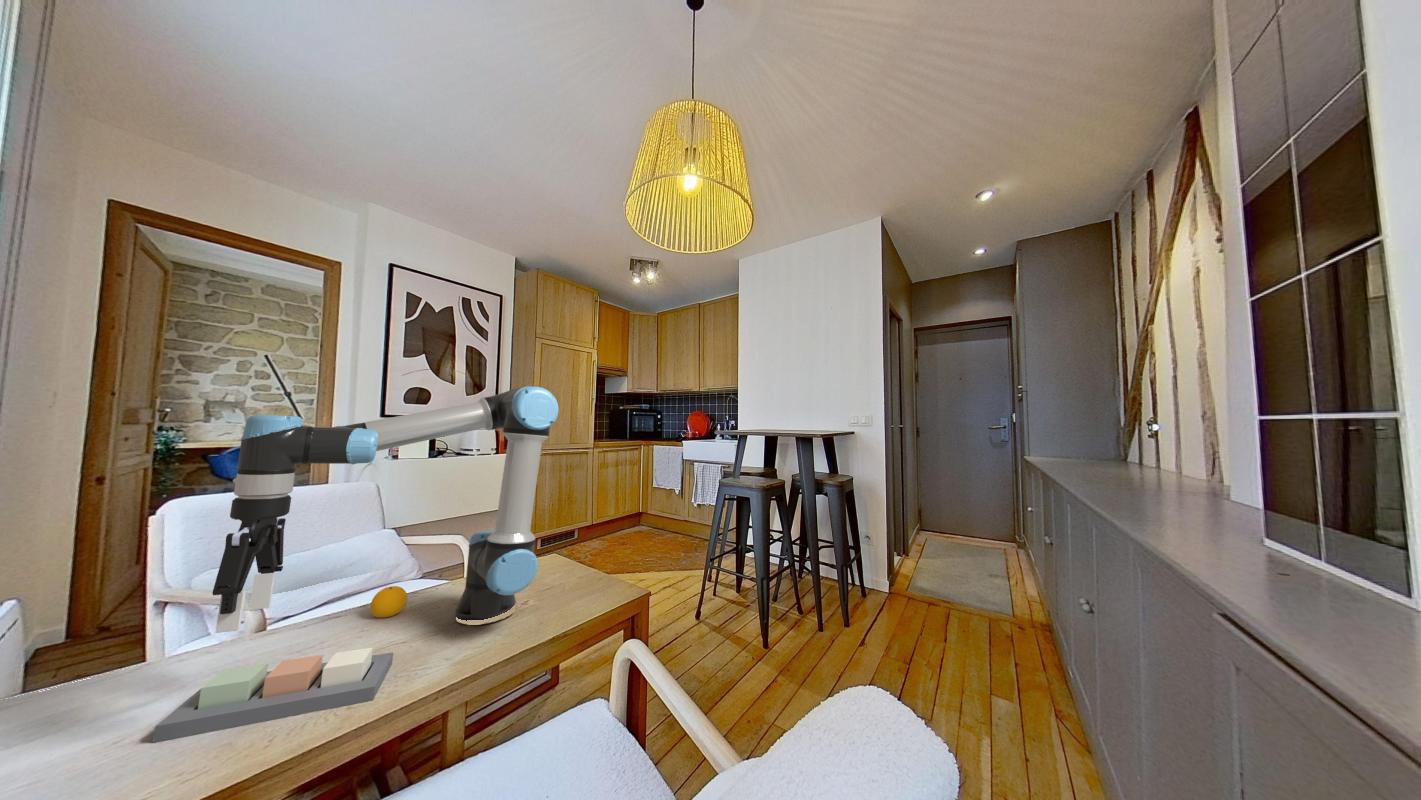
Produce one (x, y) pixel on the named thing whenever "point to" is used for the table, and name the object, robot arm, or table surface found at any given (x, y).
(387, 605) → the yellow lemon
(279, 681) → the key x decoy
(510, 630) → the table surface
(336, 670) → the cream square block
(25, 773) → the table surface
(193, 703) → the keypad board
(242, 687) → the key
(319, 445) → the robot arm
